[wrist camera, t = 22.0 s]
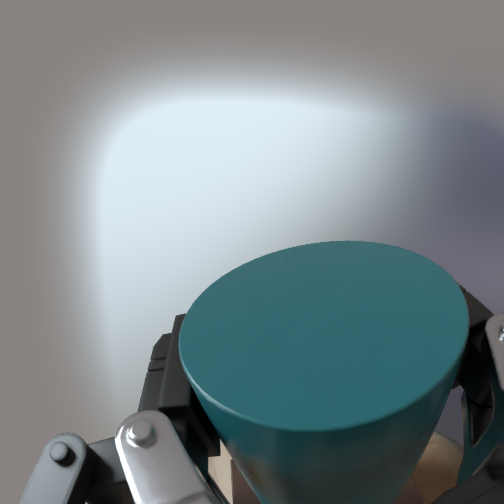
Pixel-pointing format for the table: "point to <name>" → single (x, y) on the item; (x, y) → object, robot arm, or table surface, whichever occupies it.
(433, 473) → the table surface
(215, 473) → the table surface
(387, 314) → the cylinder
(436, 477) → the table surface
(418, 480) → the table surface
